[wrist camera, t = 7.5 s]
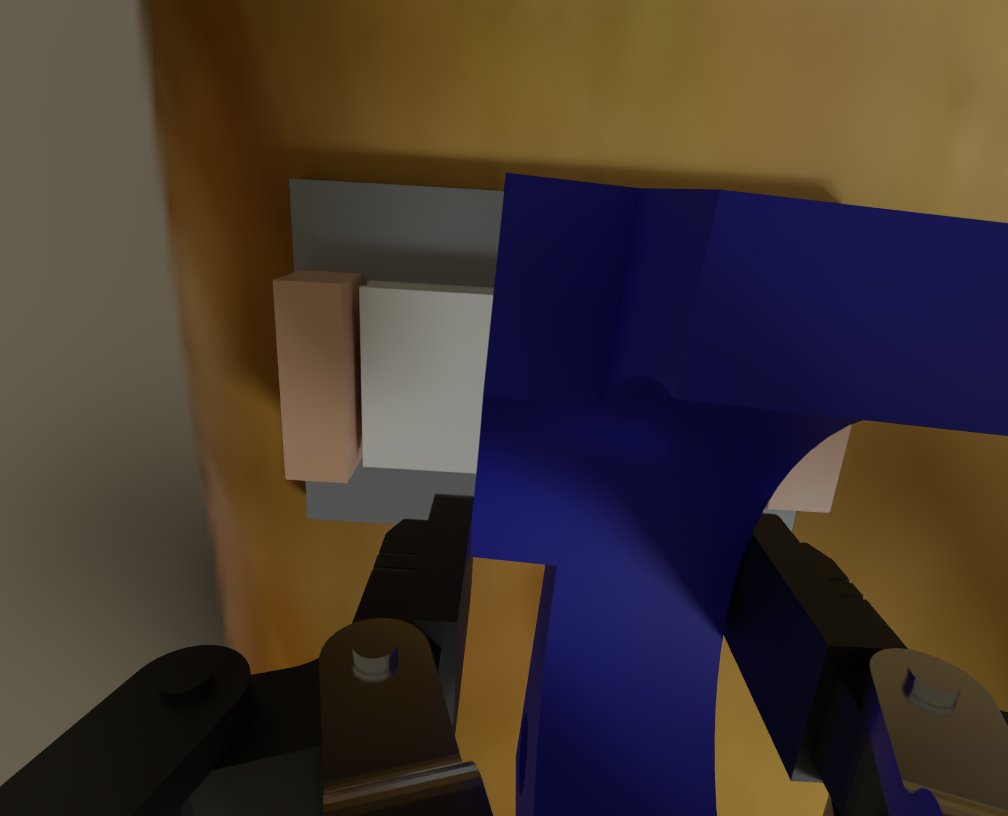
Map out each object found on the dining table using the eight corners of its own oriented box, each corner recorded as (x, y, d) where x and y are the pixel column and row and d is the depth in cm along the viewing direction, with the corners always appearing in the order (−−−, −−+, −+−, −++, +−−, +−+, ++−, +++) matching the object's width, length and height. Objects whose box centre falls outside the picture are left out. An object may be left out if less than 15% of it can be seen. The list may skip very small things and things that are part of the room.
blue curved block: (509, 176, 10) (498, 162, 4) (790, 209, 10) (1152, 239, 4) (448, 750, 14) (401, 1139, 8) (649, 770, 14) (740, 1169, 8)
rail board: (848, 211, 21) (913, 215, 17) (775, 531, 24) (816, 586, 21) (301, 178, 21) (258, 177, 17) (317, 503, 25) (284, 554, 21)
